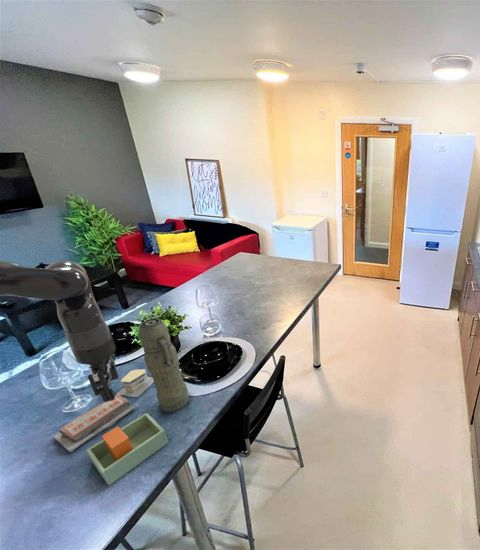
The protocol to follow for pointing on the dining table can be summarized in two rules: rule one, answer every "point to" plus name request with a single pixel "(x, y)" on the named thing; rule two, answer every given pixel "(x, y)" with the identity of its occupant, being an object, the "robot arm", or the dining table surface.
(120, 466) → the bin
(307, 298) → the dining table surface
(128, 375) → the stacked layers on plate
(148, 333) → the thermos
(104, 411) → the packaged product
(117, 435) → the block
